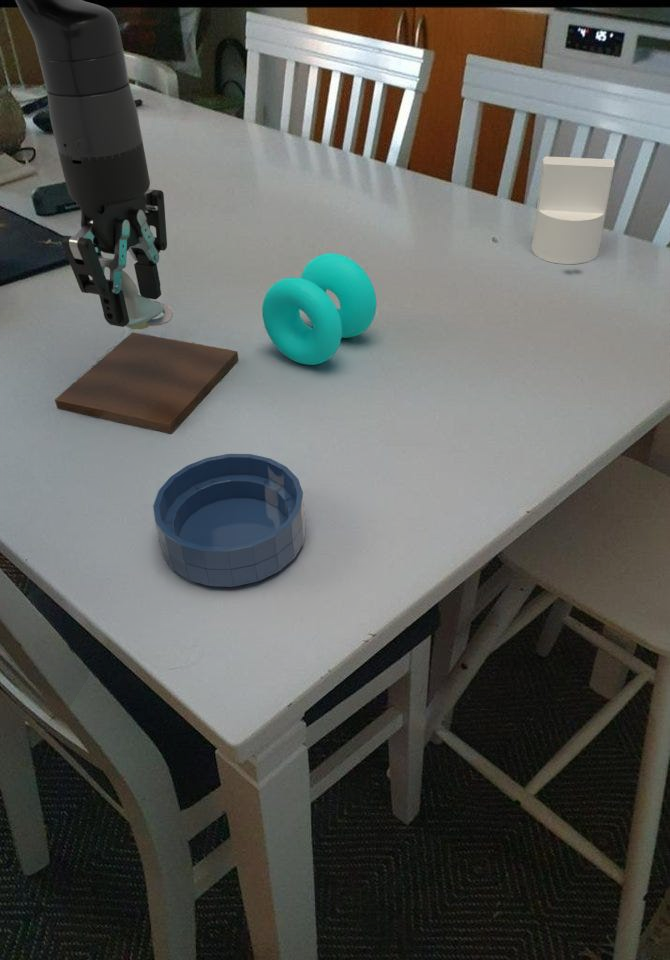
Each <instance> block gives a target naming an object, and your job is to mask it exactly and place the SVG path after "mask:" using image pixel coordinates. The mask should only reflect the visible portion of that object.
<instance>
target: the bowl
mask: <svg viewBox="0 0 670 960" xmlns="http://www.w3.org/2000/svg"><path fill="white" fill-rule="evenodd" d="M154 499H155V500H154V502H153V505H152V508H153V516H154V523H155V528H156V531H157V535H158V539H159V543H160V548H161V551H162V555H163V558H164V560H165V561H166V562H167V564H168V565H169V566H170V568H171V570H173V571H174V572H176V573H177V574H179V575H180V576H181V577H183V578H184V579H186V580H188V581H190V582H194V583H198V584H201V585H204V586H208V587H219V588H220V587H222V588H223V587H225V588H229V587H230V588H231V587H232V588H233V587H238V586H243V585H249V584H253V583H257V582H260V581H262V580H264V579H266V578H269V577H270V576H273V575H275V574H277V573H278V572H280V571H282V570H283V569H284V568H285V567H286V566H287V565H289V564H290V563H291V562H292V561H293V560H294V559H295V558H296V557H297V556H298V553H299V552H300V550H301V548H302V547H303V545H304V543H305V536H306V528H307V527H306V514H305V503H304V502H305V501H304V492H303V489H302V486H301V483H300V480H299V478H298V477H297V476H296V475H295V473H293V472H292V471H291V470H290V469H289V467H288V466H286V465H284V464H282V463H280V462H278V461H276V460H274V459H273V458H269V457H266V456H263V455H256V454H253V453H251V454H250V453H225V454H220V455H214V456H208V457H205V458H203V459H201V460H198V461H195V462H193V463H190V464H187V465H186V466H184V467H183V468H181V469H180V470H178V471H177V472H175V473H174V474H172V475H171V476H170V477H168V479H167V480H166V481H165V482H164V484H163V485H162V486H161V487H160V488H159V489H158V491H157V494H156V496H155V498H154Z"/></svg>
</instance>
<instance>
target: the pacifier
mask: <svg viewBox="0 0 670 960" xmlns="http://www.w3.org/2000/svg"><path fill="white" fill-rule="evenodd" d="M121 290H123V294H124V299H125V303H126V308H127V312H128V317H129V323H128V324H127V325H126V326H125V327H126V328H129V329H131V330H144V329H147V328H149V327H155V326H156V327H157V326H162V325H165V324H169V322H171V321H172V320H173V318H174V312H173V310H172V309H171V307H169V306H168V305H167V304H165V303H163V302H160V301H158V300H154V299H149V298H145V297H142V296H141V295H140V294H139V288H138V286H137V285H136V283H135V281H134V280H133V278H131V276H130V275H129V274H128V273H127V272H126V271H125V270H124V269H122V272H121ZM162 313H163V315H162V316H160V317H158V316H159V315H161V314H162ZM157 317H158V318H157Z"/></svg>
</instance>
